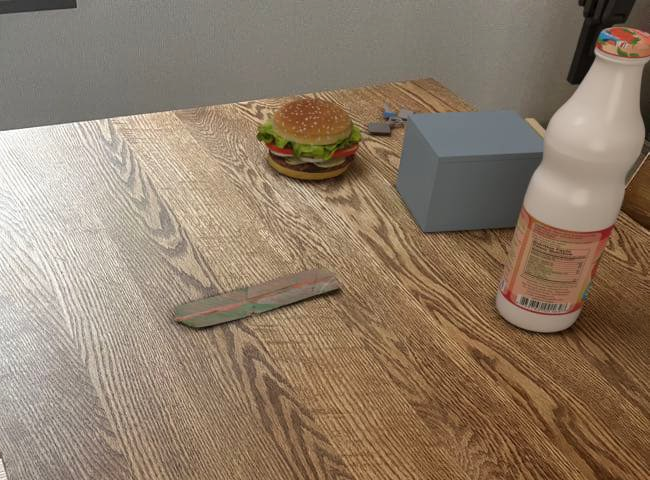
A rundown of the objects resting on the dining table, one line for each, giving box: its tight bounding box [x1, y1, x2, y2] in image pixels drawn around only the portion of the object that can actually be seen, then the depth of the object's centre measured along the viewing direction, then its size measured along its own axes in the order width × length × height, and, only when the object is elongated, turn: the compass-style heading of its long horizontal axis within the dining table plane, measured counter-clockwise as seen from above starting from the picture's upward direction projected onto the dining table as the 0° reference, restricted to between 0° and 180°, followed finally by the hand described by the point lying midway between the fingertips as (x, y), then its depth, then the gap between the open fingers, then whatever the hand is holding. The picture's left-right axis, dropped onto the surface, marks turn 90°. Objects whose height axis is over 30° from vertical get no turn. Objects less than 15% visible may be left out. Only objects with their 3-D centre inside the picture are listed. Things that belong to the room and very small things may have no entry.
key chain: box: [367, 103, 415, 134], centre depth 127 cm, size 14×8×1 cm, turn 124°
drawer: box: [524, 117, 546, 141], centre depth 107 cm, size 19×11×8 cm, turn 100°
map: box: [173, 267, 340, 328], centre depth 93 cm, size 5×20×1 cm, turn 118°
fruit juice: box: [495, 26, 650, 333], centre depth 83 cm, size 9×9×28 cm
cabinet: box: [395, 109, 544, 233], centre depth 106 cm, size 15×13×10 cm
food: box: [256, 97, 363, 181], centre depth 114 cm, size 14×14×8 cm
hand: (579, 81), depth 100 cm, fingers closed
